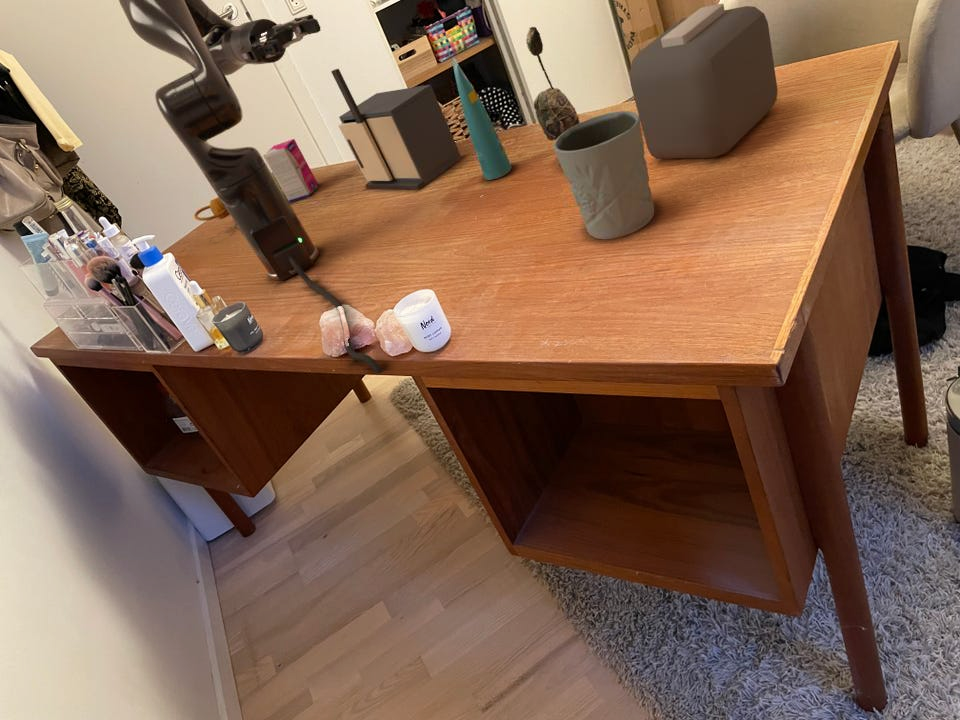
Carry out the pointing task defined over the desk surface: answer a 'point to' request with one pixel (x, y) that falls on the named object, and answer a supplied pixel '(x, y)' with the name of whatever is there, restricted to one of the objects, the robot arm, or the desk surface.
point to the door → (361, 139)
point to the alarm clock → (704, 82)
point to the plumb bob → (217, 208)
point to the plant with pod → (550, 99)
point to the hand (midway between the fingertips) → (298, 35)
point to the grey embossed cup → (608, 173)
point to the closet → (408, 136)
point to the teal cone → (481, 130)
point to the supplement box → (291, 170)
